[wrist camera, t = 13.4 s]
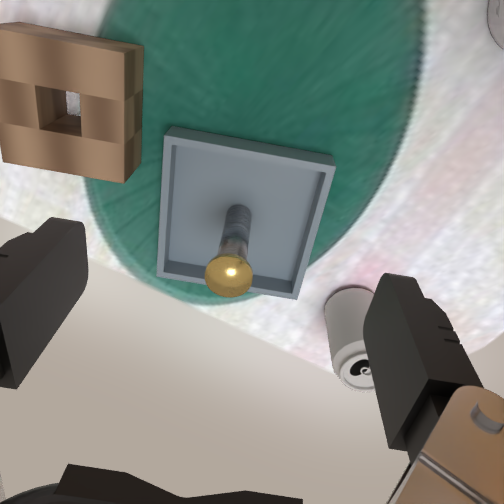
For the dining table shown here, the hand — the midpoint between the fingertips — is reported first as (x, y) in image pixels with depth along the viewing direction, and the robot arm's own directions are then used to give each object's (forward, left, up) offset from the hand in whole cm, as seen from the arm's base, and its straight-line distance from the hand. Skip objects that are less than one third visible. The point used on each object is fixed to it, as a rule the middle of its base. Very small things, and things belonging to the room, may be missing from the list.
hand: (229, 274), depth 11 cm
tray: (0, +16, -35) cm, 38 cm away
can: (-17, +27, -35) cm, 47 cm away
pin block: (+18, +6, -35) cm, 39 cm away
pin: (0, +16, -34) cm, 37 cm away
